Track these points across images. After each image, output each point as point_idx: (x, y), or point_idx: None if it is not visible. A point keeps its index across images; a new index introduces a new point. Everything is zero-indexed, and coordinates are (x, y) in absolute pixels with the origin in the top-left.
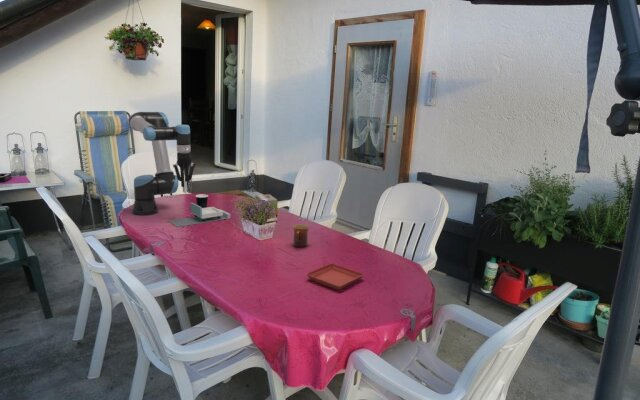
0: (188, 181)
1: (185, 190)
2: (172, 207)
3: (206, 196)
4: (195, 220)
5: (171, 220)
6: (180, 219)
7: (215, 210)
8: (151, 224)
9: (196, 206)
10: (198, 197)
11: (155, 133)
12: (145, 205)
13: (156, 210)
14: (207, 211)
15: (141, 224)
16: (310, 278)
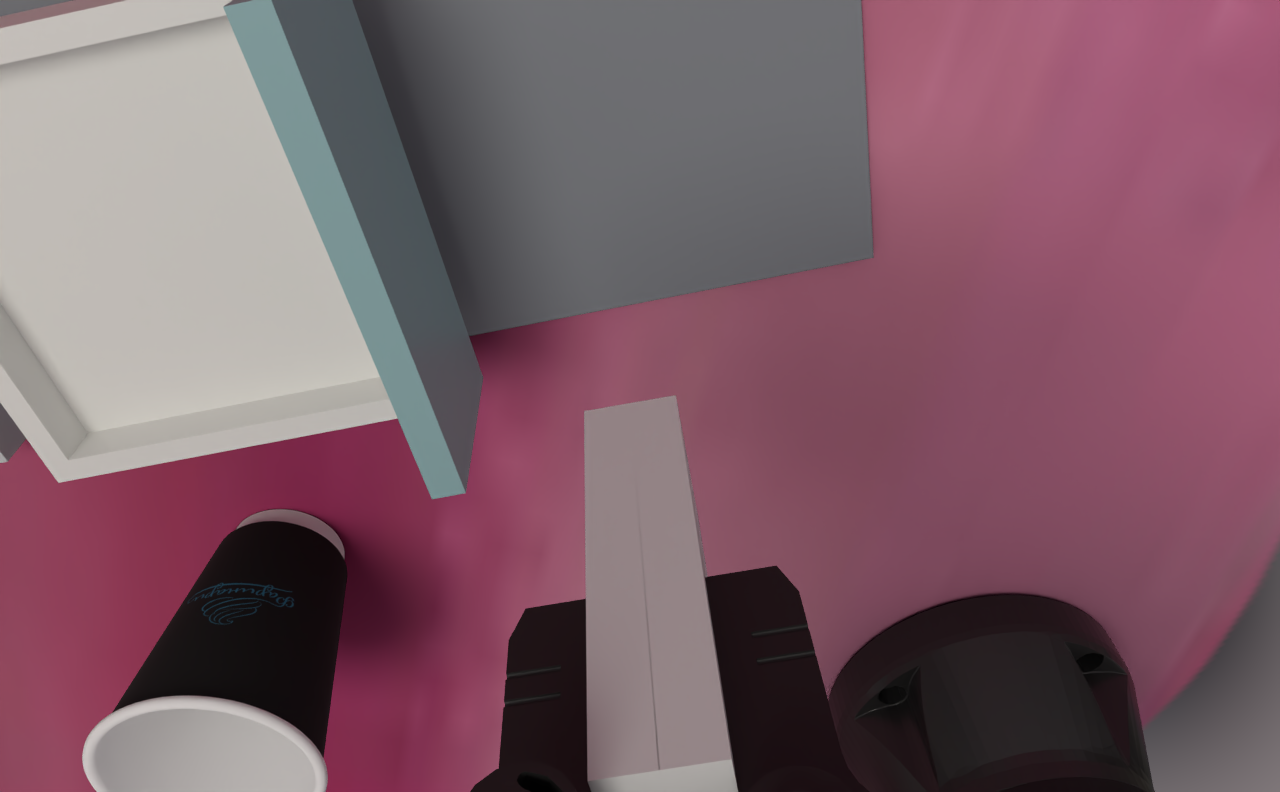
0: (501, 773)
1: (650, 453)
2: None
3: (111, 722)
4: (438, 129)
5: (816, 260)
6: (671, 269)
7: (3, 324)
8: (1147, 179)
9: (362, 213)
10: (276, 716)
11: None
12: (1059, 712)
13: (879, 666)
14: (172, 334)
15: (1266, 228)
16: None
